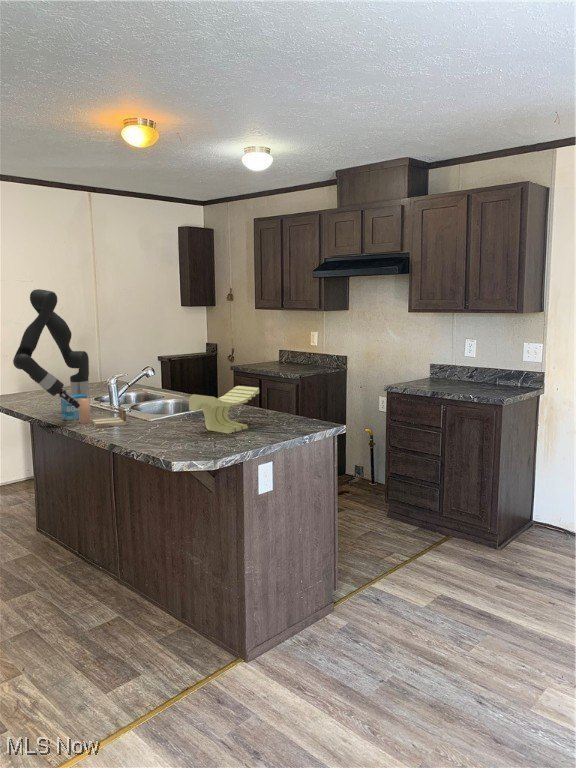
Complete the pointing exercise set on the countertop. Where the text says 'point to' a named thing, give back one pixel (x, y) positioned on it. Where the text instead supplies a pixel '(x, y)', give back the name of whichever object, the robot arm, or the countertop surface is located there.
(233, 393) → the slatted curved stool
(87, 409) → the peach dome-topped cylinder
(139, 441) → the countertop surface
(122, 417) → the wooden l-shaped stand
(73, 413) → the data package
